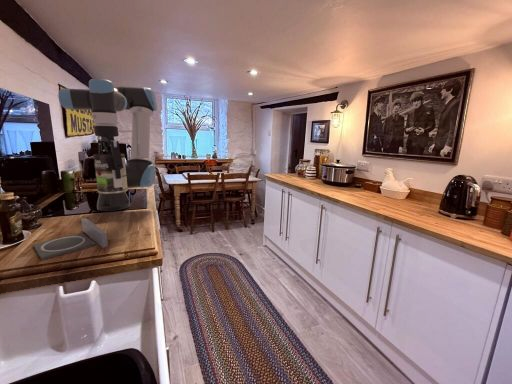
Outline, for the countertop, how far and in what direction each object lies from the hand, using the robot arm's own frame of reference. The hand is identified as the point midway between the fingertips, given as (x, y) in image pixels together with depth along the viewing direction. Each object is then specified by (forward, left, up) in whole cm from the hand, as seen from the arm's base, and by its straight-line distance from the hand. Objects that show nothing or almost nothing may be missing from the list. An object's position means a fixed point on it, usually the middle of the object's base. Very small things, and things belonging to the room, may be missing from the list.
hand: (112, 185), depth 96 cm
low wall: (+3, -9, -18) cm, 21 cm away
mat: (+3, -18, -18) cm, 26 cm away
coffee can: (0, 0, -3) cm, 3 cm away
